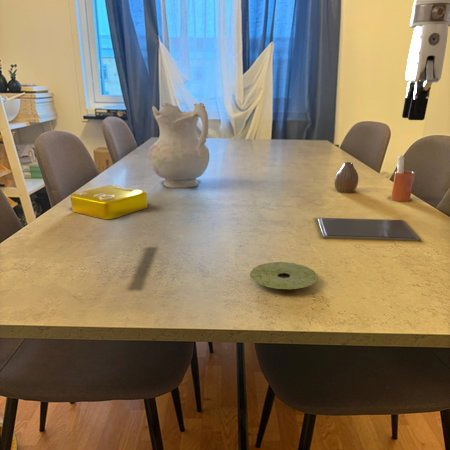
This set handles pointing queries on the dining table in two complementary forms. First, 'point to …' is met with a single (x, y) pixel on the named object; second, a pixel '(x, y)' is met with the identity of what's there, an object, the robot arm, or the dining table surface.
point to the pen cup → (402, 186)
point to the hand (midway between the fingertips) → (412, 117)
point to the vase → (346, 178)
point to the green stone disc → (283, 275)
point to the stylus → (401, 164)
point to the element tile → (109, 201)
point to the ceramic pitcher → (180, 146)
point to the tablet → (366, 229)
